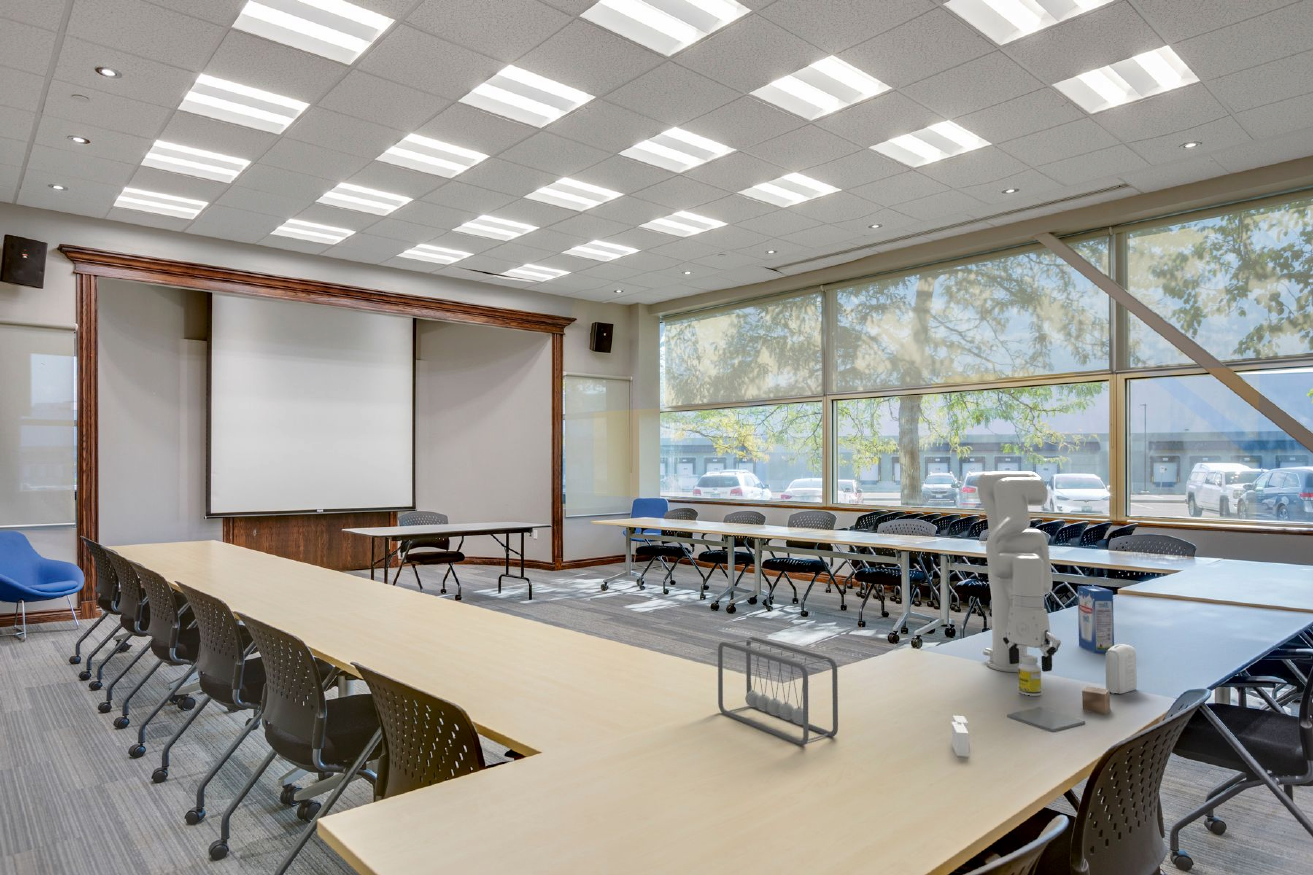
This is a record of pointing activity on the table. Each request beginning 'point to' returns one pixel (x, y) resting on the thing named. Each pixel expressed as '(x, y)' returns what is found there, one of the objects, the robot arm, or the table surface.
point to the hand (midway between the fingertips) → (1030, 667)
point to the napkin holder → (960, 736)
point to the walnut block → (1096, 700)
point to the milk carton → (1095, 618)
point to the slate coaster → (1046, 719)
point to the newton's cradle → (775, 705)
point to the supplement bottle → (1029, 676)
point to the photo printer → (1121, 669)
